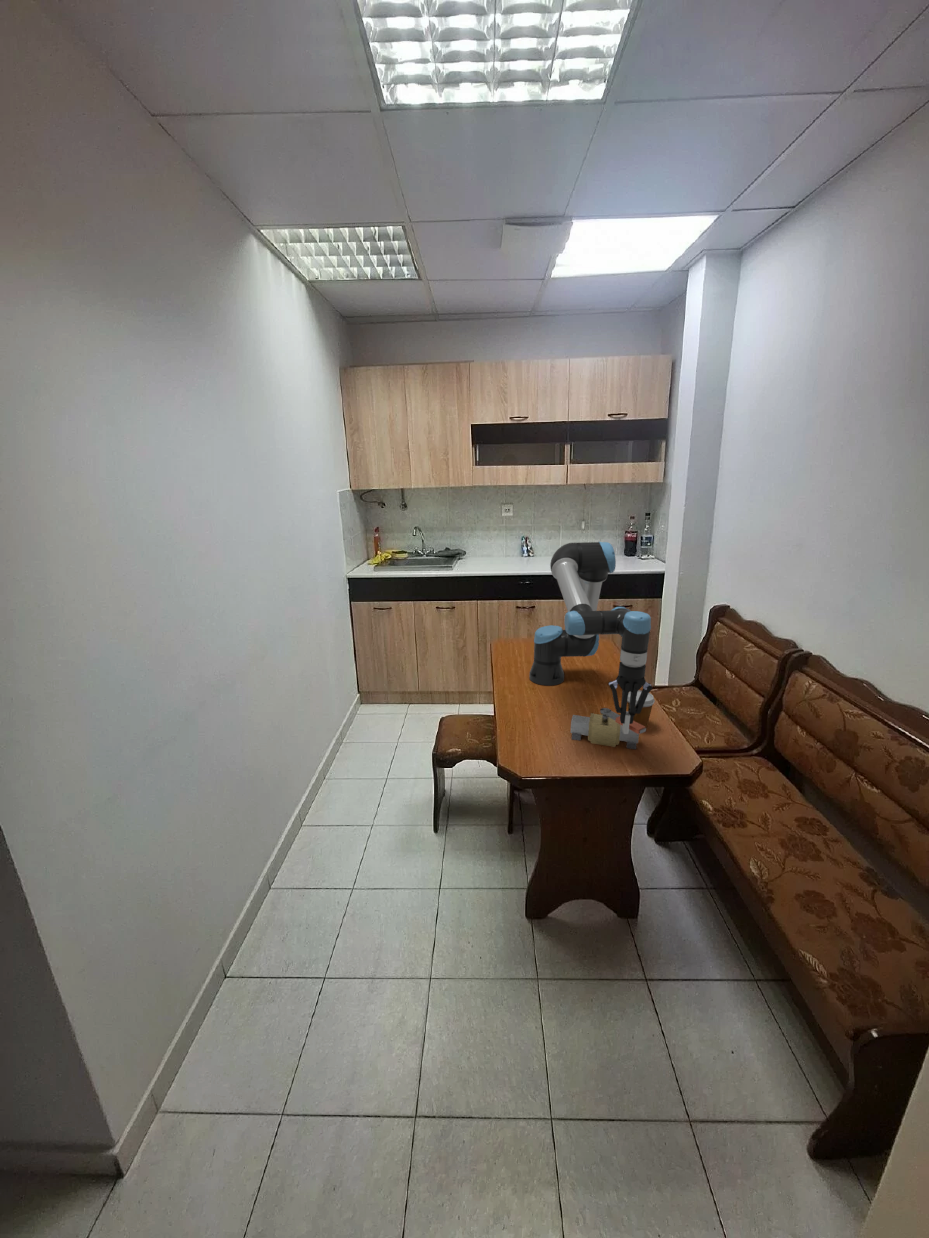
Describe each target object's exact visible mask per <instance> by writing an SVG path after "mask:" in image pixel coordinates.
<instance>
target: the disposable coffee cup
mask: <svg viewBox="0 0 929 1238" xmlns="http://www.w3.org/2000/svg"><path fill="white" fill-rule="evenodd" d="M641 692H642V690H640V689H639V690H638V691H637V696H636V704H637V702H638V699H639V697H640V694H641ZM630 695H631V692H629V694H628V699H627V711H628V712H629V704H630ZM655 702H656V701H655V698H654V695H653V694H652V693H651V692H649V693H648V695H647V698H646V700H645V703H644V705H643V708H642V710H641V712H640V714H635V716H634V717H633V721H635V722H637V723H639V724H641V725H643V726H645V728H646V729H647V728H648V724H649V721H650V718H651V717H650V716H651V713H652V708H653V705H654V704H655ZM636 704H635V707H636Z"/></svg>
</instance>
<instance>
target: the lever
mask: <svg viewBox="0 0 929 1238" xmlns="http://www.w3.org/2000/svg"><path fill="white" fill-rule="evenodd" d="M599 712H600V715H604V716H607V717H609V718H611V719H613V720H615V722H616V723H618V724H620V725H622V726H623V723H621V721H620V713H617V712H616V711H612V709H610V708H608V707H602V708H600V710H599ZM629 729H630V730H632V731H633V732H635V733H637V734H639V735H641V734H643V733H646V732H647V728H645V726H643V725H641V724H639V723H637V722H635V721H633V723H632V724H629Z"/></svg>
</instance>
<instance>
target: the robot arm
mask: <svg viewBox="0 0 929 1238" xmlns="http://www.w3.org/2000/svg"><path fill="white" fill-rule="evenodd" d="M616 561H617V559H616V553H615V550H614V546H613V545H612V544H611V543H610V542H608V541H596V542H595V541H592V542H591V541H590V542H589V541H588V542H587V541H586V542H585V541H584V542H569V543H565V544H563V545H561V546H560V547H559V548H558V549H557V550H556V551H555V552H554V554H553V555H552V557H551V560H550V564H549V566H550V567H549V568H550V571H551V575H552V576H553V578H554V579H556V581H557V584H558V587H559V590H560V592H561V595H562V598H563V600H564V601H563V602H564V604H565V608H566V609H567V612H566V613H565V614H564V619H563V620H564V629H562V628H563V627H561V626H559V625H555V624H553V625H545V626H541V627H539V628H537V629H536V631H535V632H534V639H533V663H532V666H531V668H530V669H529V670H530V671H529V675H528V676H529V680H530V681H531V682H532V683H534V684H537V685H540V686H557V685H560V684H563V682H564V681H565V673H564V670H563V669H564V668H563V665H562V658H563V657H564V658H565V657H568V658H570V657H585V658H586V657H589V656H594V655H595V654H596V653H597V651H598V649H599V645H600V642H599V641H600V636H601V635H619V636H620V637H621V645H620V646H621V647H620V655H619V661H620V662H619V664H618V666H619V667H618V675H617V677H615V680H613V681H609V682H608V686H609V689H610V690H611V692H612V694H611V695H612V699H613V700H612V701H613V705H614V709H615V713H617V714H619V715H620V721H621V723H623V727H622V730H623V733H624V734H628V732H629V724H632V723H633V717H634V716H635V714H640V712H641V710H642V708H643V705H644V703H645V700H646V698H647V695H648V693H651V691H652V690H653V686H652V684H651V683H650V682H647V681H646V679H645V676H646V669H647V668H646V667H647V665H646V663H647V657H648V651H649V650H648V649H649V641H650V635H651V634H650V633H651V629H652V625H651V623H652V617H651V616H650V614H649V613H647V612H644V611H637V610H634V611H633V610H632V611H631V609H628V608H626V607H625V606H616V607H613V608H612V609H611V610H597V609H598V605H599V600H600V596H601V595H600V594H601V589H602V586H603V582H605V581H606V580H607V579H608V575H609V574H613V573H614V572H615V570H616ZM618 686H619V687H620V689H621V690H622V691H621V703H620V702H619V697H618V691H617V689H618ZM641 688H642V689H641ZM640 689H641V691H642V692H641V694H640V697H639V699H638V702H637V704H636V696H637V691H638V690H639V691H640ZM629 692H631V695H630V704H629V712H628V704H627V699H628V694H629ZM635 704H636V707H635Z"/></svg>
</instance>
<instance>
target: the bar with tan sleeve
mask: <svg viewBox="0 0 929 1238" xmlns="http://www.w3.org/2000/svg"><path fill="white" fill-rule="evenodd" d="M622 727H623V726H622V725H620V724H618V723H616V722H615V720H613V719H611V718H609V717H607V716H604V715H602V714H597V713H594V712H590V716H582V715H579V714H578V715H576V714H572V717H571V722H570V734H571V740H572V741H573V740H574V741H582V735H583V736H587V741H589V742H590V744H594V745H599V746H600V745H601V746H607V747H612V748H616V745H617V746H618V745H619V744H620V741H621V742H626V747H625V748H626V749H629V750H637V744H639V738H640V737H639V736H640V734H637V733H635V732H633V731H632V730H630V729H629V732H628V734H624V733H623V730H622ZM619 746H620V745H619Z"/></svg>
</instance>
